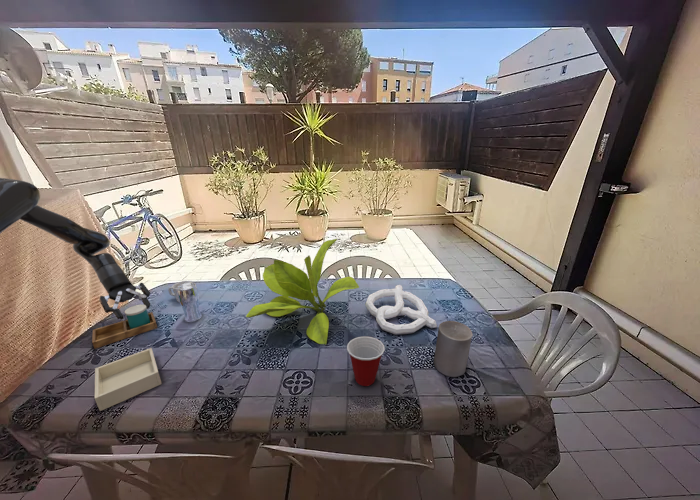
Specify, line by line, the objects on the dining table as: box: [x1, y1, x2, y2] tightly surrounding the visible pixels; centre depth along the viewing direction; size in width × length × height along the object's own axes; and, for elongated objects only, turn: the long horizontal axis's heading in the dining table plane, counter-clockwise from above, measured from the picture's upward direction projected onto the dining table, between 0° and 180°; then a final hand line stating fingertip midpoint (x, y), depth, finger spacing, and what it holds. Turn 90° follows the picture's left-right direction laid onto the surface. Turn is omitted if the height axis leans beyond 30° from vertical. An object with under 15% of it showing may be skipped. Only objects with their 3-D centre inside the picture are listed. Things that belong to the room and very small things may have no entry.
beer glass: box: [177, 281, 203, 323], centre depth 108 cm, size 7×7×15 cm
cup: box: [167, 280, 192, 303], centre depth 123 cm, size 11×8×8 cm
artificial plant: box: [245, 238, 360, 345], centre depth 106 cm, size 42×43×30 cm
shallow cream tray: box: [94, 347, 162, 412], centre depth 79 cm, size 14×14×5 cm
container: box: [124, 303, 150, 329], centre depth 102 cm, size 6×6×8 cm
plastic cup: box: [346, 336, 386, 387], centre depth 79 cm, size 11×11×12 cm
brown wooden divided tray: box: [91, 311, 158, 350], centre depth 101 cm, size 18×9×3 cm, turn 131°
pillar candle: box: [433, 320, 474, 378], centre depth 84 cm, size 10×10×15 cm
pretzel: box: [365, 284, 438, 335], centre depth 112 cm, size 28×24×6 cm
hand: (135, 312), depth 102 cm, fingers open, 8 cm apart
